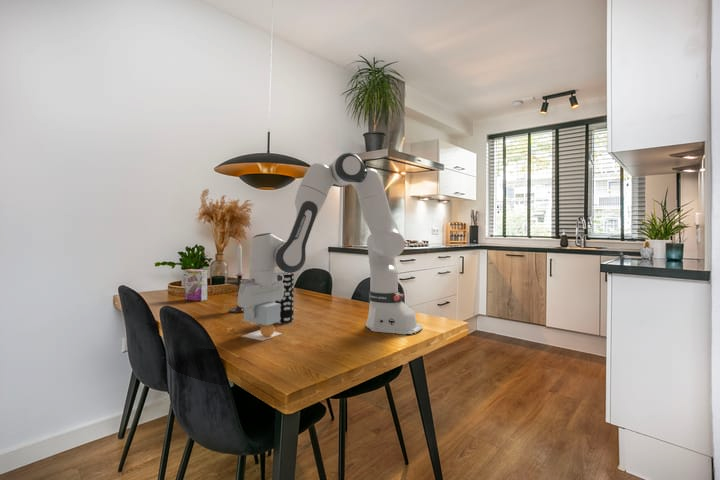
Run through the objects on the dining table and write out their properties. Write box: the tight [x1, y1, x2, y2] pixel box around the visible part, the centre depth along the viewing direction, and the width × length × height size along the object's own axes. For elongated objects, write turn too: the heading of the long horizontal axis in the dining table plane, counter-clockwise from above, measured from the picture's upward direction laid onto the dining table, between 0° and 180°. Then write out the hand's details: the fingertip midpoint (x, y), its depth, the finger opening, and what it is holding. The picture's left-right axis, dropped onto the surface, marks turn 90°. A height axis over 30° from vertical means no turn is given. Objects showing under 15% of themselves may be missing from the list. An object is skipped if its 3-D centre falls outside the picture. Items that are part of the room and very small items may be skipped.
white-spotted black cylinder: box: [275, 272, 295, 324], centre depth 152 cm, size 8×8×20 cm
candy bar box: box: [184, 268, 208, 302], centre depth 195 cm, size 11×5×16 cm, turn 72°
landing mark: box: [241, 329, 283, 342], centre depth 132 cm, size 10×10×1 cm
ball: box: [259, 323, 276, 337], centre depth 130 cm, size 5×5×5 cm
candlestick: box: [226, 237, 249, 314], centre depth 170 cm, size 11×11×35 cm
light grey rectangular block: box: [243, 302, 281, 326], centre depth 131 cm, size 11×7×6 cm, turn 62°
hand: (261, 315), depth 131 cm, fingers closed on light grey rectangular block, 7 cm apart
